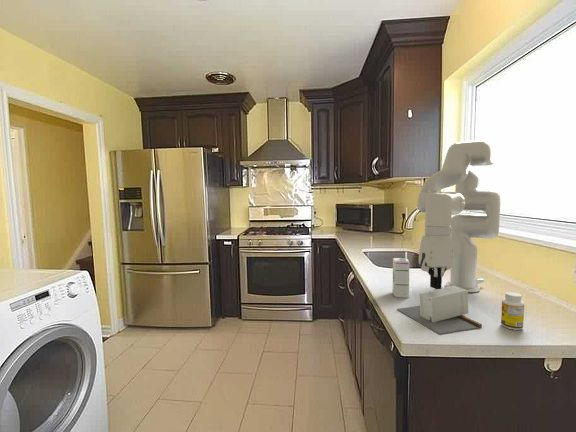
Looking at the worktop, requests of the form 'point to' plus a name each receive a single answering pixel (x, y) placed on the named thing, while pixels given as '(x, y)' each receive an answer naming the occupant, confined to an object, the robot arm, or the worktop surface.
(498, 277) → the worktop surface
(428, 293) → the skincare box
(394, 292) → the syrup box
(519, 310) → the supplement bottle
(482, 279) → the robot arm
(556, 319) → the worktop surface
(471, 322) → the rail
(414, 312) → the mat
